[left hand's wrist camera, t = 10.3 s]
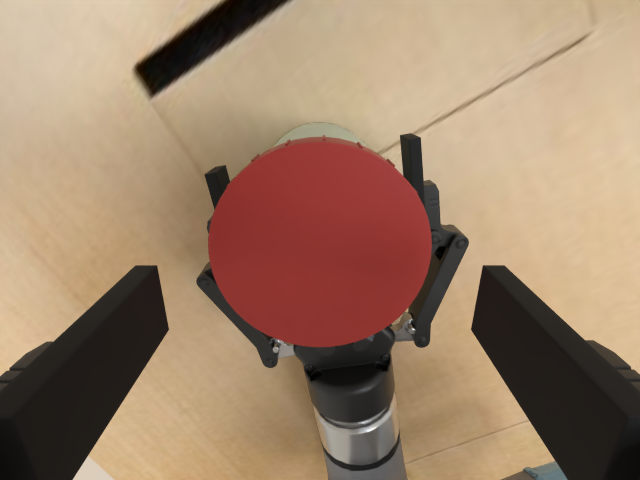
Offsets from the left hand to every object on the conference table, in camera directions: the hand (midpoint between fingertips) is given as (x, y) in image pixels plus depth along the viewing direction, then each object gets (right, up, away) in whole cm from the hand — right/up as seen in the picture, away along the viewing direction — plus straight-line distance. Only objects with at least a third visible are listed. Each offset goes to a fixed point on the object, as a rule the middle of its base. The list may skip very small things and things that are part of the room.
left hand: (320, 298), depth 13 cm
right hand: (-1, +8, +11) cm, 14 cm away
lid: (0, +1, +4) cm, 4 cm away
